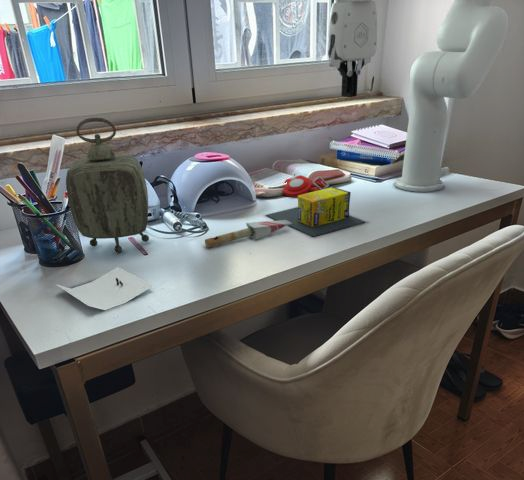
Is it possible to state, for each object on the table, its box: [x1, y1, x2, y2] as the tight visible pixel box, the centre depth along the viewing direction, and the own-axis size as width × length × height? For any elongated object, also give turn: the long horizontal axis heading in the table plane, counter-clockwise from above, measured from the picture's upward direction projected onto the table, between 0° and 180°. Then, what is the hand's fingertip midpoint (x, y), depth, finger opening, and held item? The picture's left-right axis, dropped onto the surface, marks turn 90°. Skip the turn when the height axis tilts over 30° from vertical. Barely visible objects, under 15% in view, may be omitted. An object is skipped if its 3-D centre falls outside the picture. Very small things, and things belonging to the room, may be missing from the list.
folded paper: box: [55, 266, 154, 311], centre depth 86 cm, size 12×12×2 cm
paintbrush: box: [204, 220, 292, 249], centre depth 106 cm, size 4×3×20 cm
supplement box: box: [297, 186, 352, 227], centre depth 113 cm, size 6×6×11 cm
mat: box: [265, 206, 366, 238], centre depth 116 cm, size 15×18×1 cm
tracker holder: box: [281, 174, 330, 198], centre depth 133 cm, size 12×4×10 cm
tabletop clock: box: [65, 117, 150, 254], centre depth 96 cm, size 14×9×25 cm, turn 100°
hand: (349, 96), depth 109 cm, fingers closed
